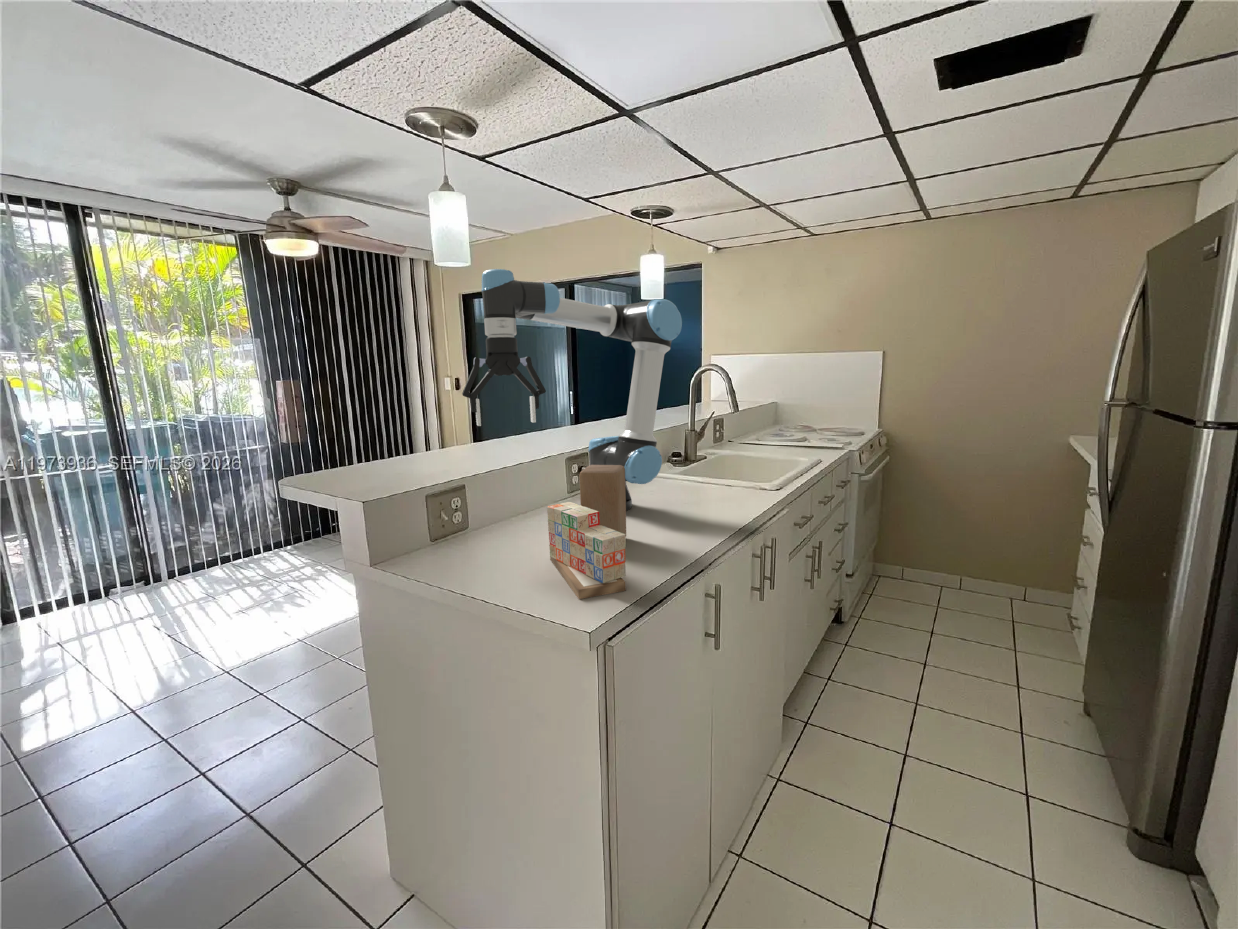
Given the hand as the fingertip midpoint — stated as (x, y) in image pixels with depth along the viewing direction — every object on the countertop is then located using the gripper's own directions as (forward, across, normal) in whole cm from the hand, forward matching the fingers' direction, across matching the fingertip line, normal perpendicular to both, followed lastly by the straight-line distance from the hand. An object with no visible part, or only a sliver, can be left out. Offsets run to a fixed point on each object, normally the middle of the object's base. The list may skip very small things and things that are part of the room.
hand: (506, 423), depth 135 cm
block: (+32, +22, -9) cm, 40 cm away
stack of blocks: (+30, +11, -28) cm, 42 cm away
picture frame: (+32, +11, -27) cm, 43 cm away
